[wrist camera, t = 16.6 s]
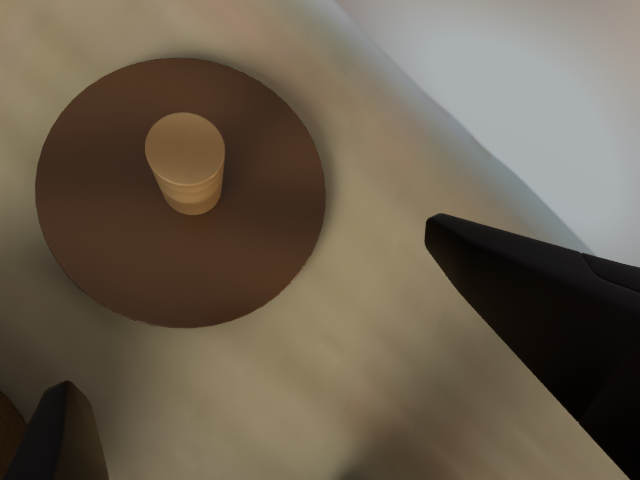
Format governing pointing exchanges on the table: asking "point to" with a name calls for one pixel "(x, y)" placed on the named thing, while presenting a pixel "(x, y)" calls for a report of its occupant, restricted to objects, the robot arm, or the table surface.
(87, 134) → the lid
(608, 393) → the robot arm
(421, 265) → the table surface
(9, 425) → the bowl
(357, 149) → the table surface
